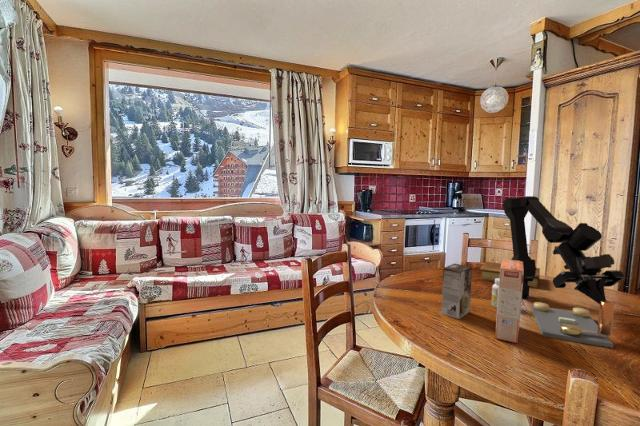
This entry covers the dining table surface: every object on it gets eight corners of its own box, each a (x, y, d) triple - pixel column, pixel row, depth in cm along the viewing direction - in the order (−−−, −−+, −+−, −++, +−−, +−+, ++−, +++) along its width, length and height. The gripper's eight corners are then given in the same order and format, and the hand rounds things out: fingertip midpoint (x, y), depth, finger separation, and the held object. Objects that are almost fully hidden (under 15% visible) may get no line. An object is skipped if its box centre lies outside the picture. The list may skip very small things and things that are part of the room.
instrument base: (542, 336, 96) (543, 326, 96) (531, 308, 117) (531, 300, 117) (613, 348, 89) (614, 338, 89) (587, 316, 111) (587, 308, 110)
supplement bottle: (509, 305, 120) (511, 279, 119) (505, 309, 116) (507, 282, 115) (493, 301, 124) (495, 276, 123) (489, 305, 120) (490, 279, 119)
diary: (539, 279, 156) (539, 268, 155) (538, 290, 140) (539, 277, 140) (485, 271, 168) (485, 260, 168) (479, 280, 153) (480, 268, 152)
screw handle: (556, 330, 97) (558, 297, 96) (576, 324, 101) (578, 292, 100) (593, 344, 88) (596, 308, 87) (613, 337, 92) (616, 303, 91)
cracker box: (519, 344, 91) (524, 270, 89) (494, 339, 94) (498, 267, 92) (519, 326, 102) (524, 260, 101) (498, 322, 106) (501, 258, 104)
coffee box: (452, 307, 118) (454, 263, 117) (470, 312, 114) (472, 266, 112) (440, 314, 112) (442, 267, 110) (459, 319, 107) (461, 271, 106)
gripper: (562, 245, 97) (593, 293, 87) (621, 243, 98) (658, 291, 88) (541, 264, 106) (567, 311, 96) (595, 263, 107) (627, 309, 97)
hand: (604, 305), depth 94 cm, fingers closed, pressing on screw handle
